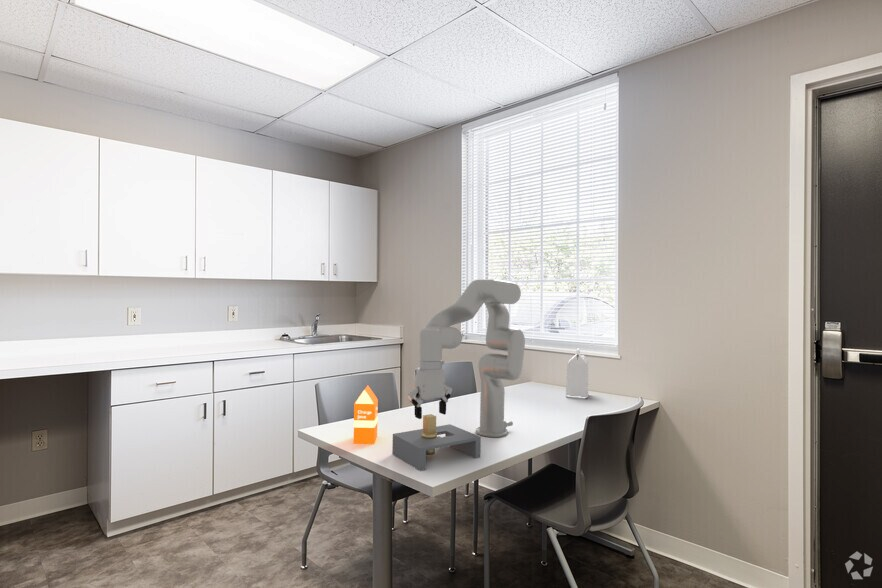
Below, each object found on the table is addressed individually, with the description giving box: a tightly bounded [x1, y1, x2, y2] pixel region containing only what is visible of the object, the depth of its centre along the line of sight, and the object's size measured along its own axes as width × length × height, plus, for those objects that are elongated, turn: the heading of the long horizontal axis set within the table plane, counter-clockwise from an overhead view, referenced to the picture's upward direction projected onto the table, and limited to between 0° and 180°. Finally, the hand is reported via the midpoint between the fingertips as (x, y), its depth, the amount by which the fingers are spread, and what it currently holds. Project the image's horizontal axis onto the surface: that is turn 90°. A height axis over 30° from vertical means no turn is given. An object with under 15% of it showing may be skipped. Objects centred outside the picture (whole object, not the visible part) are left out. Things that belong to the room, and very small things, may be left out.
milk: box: [565, 348, 589, 398], centre depth 266 cm, size 12×12×26 cm
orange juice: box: [353, 385, 379, 445], centre depth 180 cm, size 8×9×20 cm
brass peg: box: [422, 413, 438, 456], centre depth 162 cm, size 5×5×12 cm
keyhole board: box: [391, 423, 482, 472], centre depth 164 cm, size 24×18×7 cm
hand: (430, 415), depth 163 cm, fingers open, 9 cm apart
